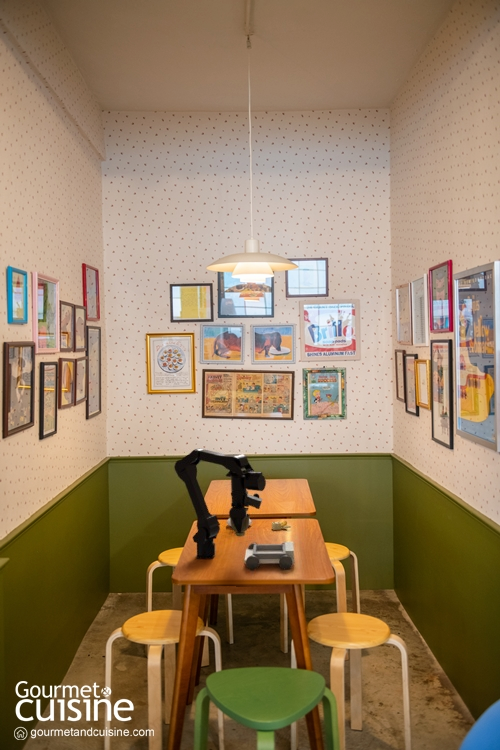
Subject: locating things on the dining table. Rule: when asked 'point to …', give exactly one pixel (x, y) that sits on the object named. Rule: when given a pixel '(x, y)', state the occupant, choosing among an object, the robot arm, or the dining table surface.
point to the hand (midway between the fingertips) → (240, 530)
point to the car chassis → (270, 555)
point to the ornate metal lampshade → (244, 526)
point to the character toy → (280, 525)
